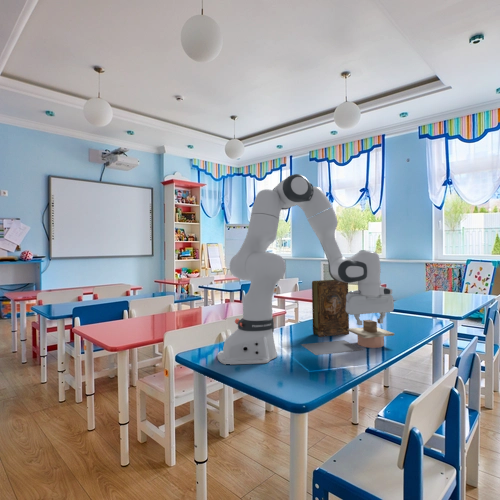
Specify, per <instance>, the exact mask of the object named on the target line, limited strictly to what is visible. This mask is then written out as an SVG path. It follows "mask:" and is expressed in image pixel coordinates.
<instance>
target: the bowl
mask: <svg viewBox="0 0 500 500" xmlns="http://www.w3.org/2000/svg"><path fill="white" fill-rule="evenodd" d="M357 345H358V346H359V347H360V346H361V347H364V348H373V349H375V348H377V349H378V348H382V347H384V346H385V336H383V337H372V338H363V337H361V336H359V335H357Z"/></svg>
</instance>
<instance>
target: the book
mask: <svg viewBox="0 0 500 500" xmlns="http://www.w3.org/2000/svg"><path fill="white" fill-rule="evenodd" d="M347 293H349V283H346V282H340V281H336V280H334V279H324V280H321V279H320V280H312V282H311V306H312V310H311V311H312V334H313V335H317V336H318V338H322V337H323V338H324V337H332V336H343V335H350V331H348V329H350V314H347V312H346V295H347Z"/></svg>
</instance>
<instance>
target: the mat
mask: <svg viewBox="0 0 500 500" xmlns="http://www.w3.org/2000/svg"><path fill="white" fill-rule="evenodd" d="M300 346H301V347H303V348H305V349H306V350H308V351H310V352H311V353H312V354H313V355H315V356H320V355H329V354H330V355H332V354H338V353H339V354H341V353H350V352H351V353H352V352H360V351H364V349H363V348H361V347H360V346H357V345H355V344H353V343H351V342H349V341H347V340H333V341H323V342H312V343H303V344H301V343H300Z"/></svg>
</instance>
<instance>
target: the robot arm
mask: <svg viewBox="0 0 500 500" xmlns="http://www.w3.org/2000/svg"><path fill="white" fill-rule="evenodd" d="M332 205H333V204H331V202H330V199H329V198H328V197H327V195H326V193H325V192H324V190H323V189H322V188H321V187H318V186H314V185H313V184H312V183H311V182H310V181H309V179H307V177H306V176H304V175H302V174H298V173H294V174H291V175H288V176H287V177H286V178H285V179H283V180H281V181H280V182H279V183H278V184H277V185H276V186H275V187H274V188H273V189H262V190H260V191H258V193H257V194H256V196H255V199H254V202H253V206H252V208H251V213H250V217H249V224H248V227H247V228H248V229H247V233H246V236H245V238H244V240H243V242H242V245H241V246H240V248H239V250H238V252H237V253H236V254H235V255H234V256H232V258H231V260H230V261H229V271H230V273H231V275H232V276H233V277H235V278H237V279H239V280H242V281H245V282H246V281H248V282H250V286H249V289H248V290H247V293H245V294H244V296H243V297H242V318H241V319H240V318H235V319H234V322H235V324H236V325H237V329H236V330H235V331H234V332H233V333H231V334H230V335H228V337H226V339H224V342H223V347H222V350H220V351H218V353H217V360H218V361H219V363H221V364H223V365H226V364H230V365H252V364H253V365H255V364H268V363H269V362H270V361H271V360H273V359H275V358H277V357H278V352H277V348H276V343H275V338H274V332H275V321H274V317H273V296H274V293H275V288H276V286H277V284H278V283H279V281H280V280H282V278H283V277H284V275H285V273H286V267H287V266H286V262H285V259H284V258H283V257H282V256H281V255H280V254H276V253H274V252H270V251H269V252H268V251H267V250H268V248H269V247H270V246H271V245H272V244H273V243H274V242H275V241H276V239H277V235H278V227H279V223H280V216H281V215H280V214H281V211H283V210H288V209H291V208H292V207H295V206H297V207H300V209H301V210H302V211H303V213H304V215H305V217H306V219H307V221H308V223H309V226H310V227H311V229H312V230H313V232H314V233H315V235H316V237H317V239H318V240H319V242H320V244H321V247H322V249H323V252H324V254H325V257H326V259H327V263H328V264H327V265H328V273H329V276H330V277H331V278H332V280H336V281H340V282H346V283H348V284H353V283H357V290H353V291H352V290H350V291H348V293H347V295H346V312H347V314H349V316H353V317H354V318H355V320H356V325H357V326H363V320H361V318H360V317H361V315H366V314H379V315H380V316H379V318H377V321H376V322H377V324H381V325H382V324H384V318H385V317H386V315H387V314H386V313H393V311H394V309H395V304H394V303H395V301H394V297H393V295H392V294H393V289H391V288H390V287H385V286H382V281H381V278H380V276H381V273H382V272H381V259H380V256H379V254H378V253H377V252H376V251H372V250H366V249H363V250H359V251H358V252H357V253H355V254H354V255H352V256H350V257H347V258H346V257H344V255H342V251H341V249H340V247H339V244H338V242H337V240H336V229H337V227H338V223H339V222H338V217H337V215H336V211H335V210H334V207H333V206H332Z"/></svg>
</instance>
